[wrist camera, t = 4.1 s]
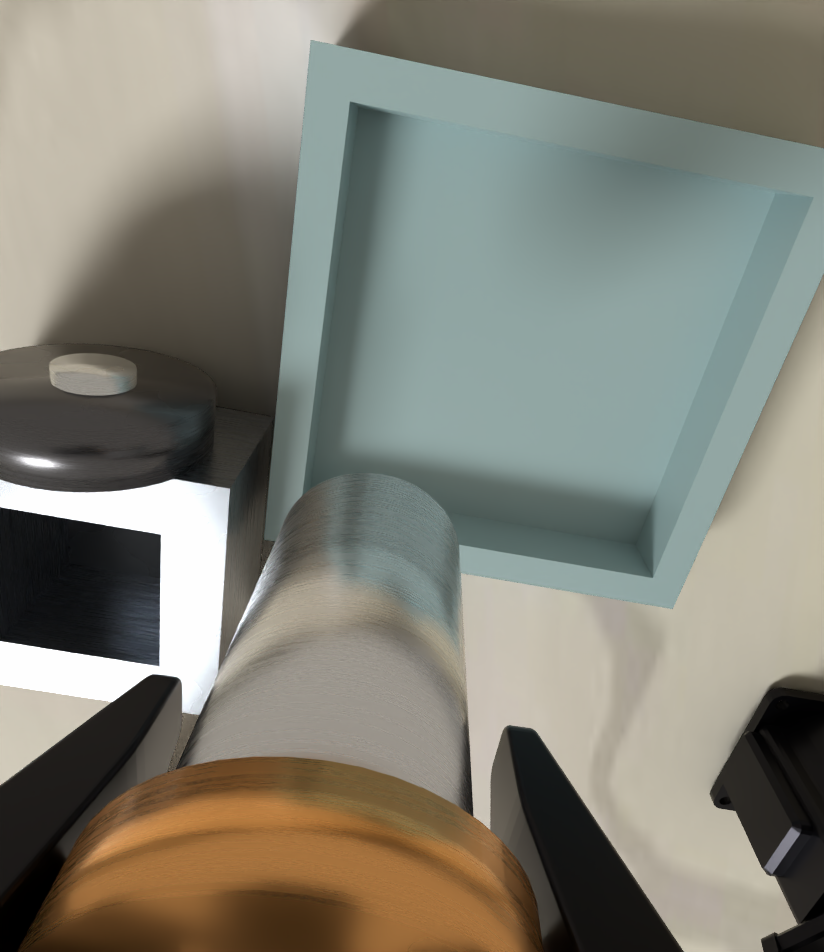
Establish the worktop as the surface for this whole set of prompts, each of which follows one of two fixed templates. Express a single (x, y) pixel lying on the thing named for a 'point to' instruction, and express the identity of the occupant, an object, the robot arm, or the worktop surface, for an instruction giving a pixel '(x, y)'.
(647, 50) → the worktop surface
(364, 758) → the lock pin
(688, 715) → the worktop surface
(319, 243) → the tray
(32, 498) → the block
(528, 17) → the worktop surface
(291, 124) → the worktop surface
